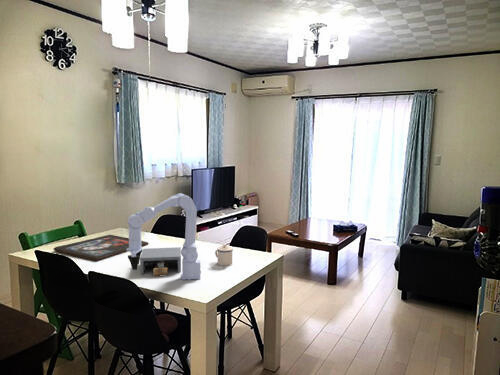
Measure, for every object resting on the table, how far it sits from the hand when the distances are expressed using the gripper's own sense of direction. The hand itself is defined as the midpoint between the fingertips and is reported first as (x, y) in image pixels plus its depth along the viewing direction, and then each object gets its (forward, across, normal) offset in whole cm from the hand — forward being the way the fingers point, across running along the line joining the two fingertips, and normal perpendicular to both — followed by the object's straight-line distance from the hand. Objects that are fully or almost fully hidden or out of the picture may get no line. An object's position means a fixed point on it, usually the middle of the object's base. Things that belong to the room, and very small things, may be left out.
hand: (135, 267), depth 177 cm
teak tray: (+9, -20, +11) cm, 24 cm away
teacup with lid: (+10, -28, +46) cm, 55 cm away
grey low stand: (+9, -25, +11) cm, 29 cm away
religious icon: (+10, -70, -29) cm, 76 cm away
